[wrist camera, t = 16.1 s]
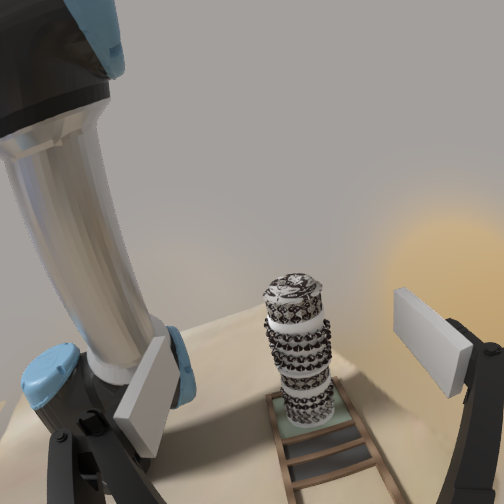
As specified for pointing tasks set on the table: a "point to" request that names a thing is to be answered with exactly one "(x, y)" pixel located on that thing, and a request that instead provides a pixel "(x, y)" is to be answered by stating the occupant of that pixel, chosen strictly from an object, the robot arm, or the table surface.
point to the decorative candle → (301, 348)
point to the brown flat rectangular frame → (325, 447)
